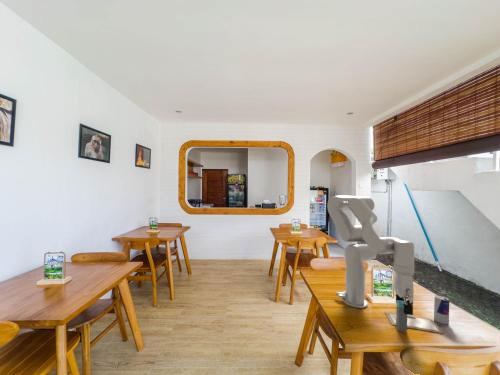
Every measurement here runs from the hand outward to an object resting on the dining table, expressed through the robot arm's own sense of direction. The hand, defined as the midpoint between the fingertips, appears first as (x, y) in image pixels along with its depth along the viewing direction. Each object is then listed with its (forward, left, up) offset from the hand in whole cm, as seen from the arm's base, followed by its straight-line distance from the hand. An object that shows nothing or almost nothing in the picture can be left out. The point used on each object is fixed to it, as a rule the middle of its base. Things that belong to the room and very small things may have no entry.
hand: (403, 308), depth 101 cm
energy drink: (+19, +13, -10) cm, 25 cm away
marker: (-1, +1, -10) cm, 10 cm away
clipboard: (+6, +9, -10) cm, 14 cm away
